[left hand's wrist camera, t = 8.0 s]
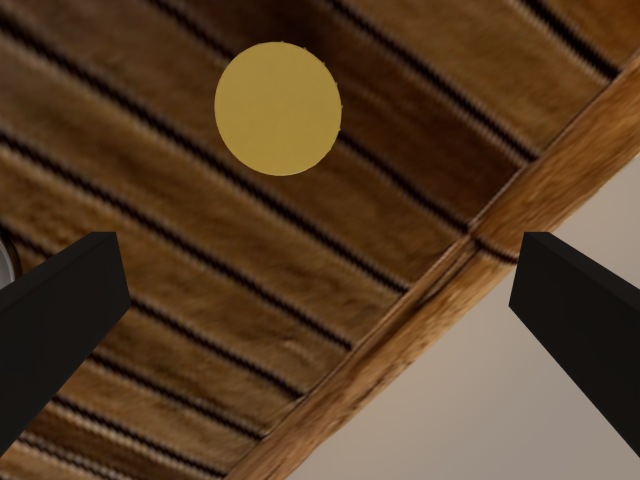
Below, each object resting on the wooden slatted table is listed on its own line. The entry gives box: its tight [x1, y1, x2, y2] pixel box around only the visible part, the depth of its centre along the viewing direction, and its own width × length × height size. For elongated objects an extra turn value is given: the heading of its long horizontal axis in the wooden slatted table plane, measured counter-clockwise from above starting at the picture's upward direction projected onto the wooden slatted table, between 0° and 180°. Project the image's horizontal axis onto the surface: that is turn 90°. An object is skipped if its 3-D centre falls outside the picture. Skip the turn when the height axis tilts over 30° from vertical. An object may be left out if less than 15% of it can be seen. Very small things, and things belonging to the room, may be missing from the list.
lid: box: [215, 41, 343, 176], centre depth 18 cm, size 6×6×2 cm
